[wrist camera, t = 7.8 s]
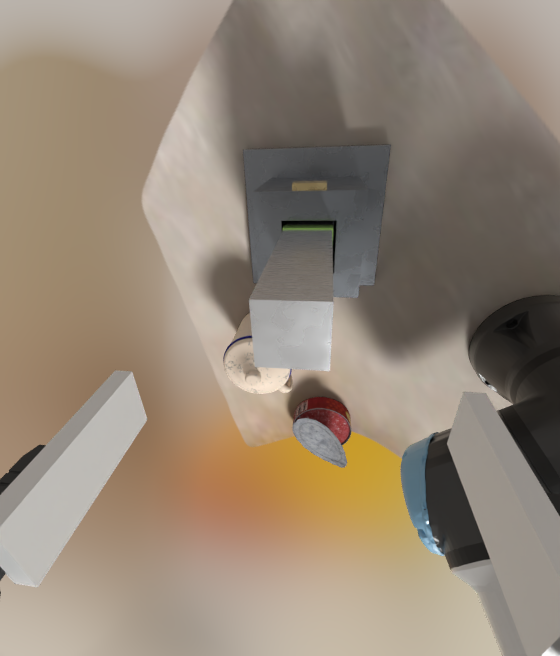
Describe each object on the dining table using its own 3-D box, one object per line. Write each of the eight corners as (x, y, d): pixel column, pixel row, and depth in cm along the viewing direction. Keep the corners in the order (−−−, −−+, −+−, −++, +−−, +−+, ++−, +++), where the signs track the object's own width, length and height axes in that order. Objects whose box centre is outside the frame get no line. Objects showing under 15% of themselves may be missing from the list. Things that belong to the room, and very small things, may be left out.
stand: (388, 144, 36) (411, 148, 26) (372, 280, 44) (385, 324, 34) (246, 149, 38) (215, 154, 28) (255, 278, 46) (234, 319, 36)
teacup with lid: (227, 322, 51) (201, 368, 41) (275, 295, 47) (261, 338, 37) (270, 377, 55) (257, 431, 45) (317, 356, 52) (315, 409, 42)
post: (333, 214, 33) (335, 300, 16) (331, 257, 35) (331, 372, 18) (289, 214, 34) (246, 297, 17) (290, 256, 36) (253, 368, 19)
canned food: (334, 417, 64) (326, 471, 59) (288, 400, 62) (275, 454, 57) (370, 406, 55) (363, 469, 50) (317, 384, 52) (304, 448, 47)
